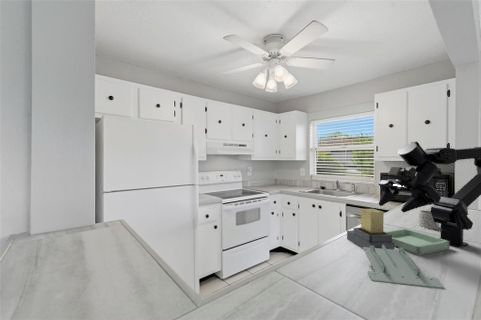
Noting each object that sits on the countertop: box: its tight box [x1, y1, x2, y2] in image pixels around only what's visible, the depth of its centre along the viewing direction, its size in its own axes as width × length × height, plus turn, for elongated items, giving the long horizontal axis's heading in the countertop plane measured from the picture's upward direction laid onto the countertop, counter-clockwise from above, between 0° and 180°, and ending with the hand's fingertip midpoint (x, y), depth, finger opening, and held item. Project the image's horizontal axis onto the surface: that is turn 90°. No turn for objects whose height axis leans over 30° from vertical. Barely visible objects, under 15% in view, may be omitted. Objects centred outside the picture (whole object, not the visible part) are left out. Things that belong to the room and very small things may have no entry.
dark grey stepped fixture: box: [346, 227, 395, 250], centre depth 72 cm, size 8×12×5 cm
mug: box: [418, 209, 440, 230], centre depth 94 cm, size 10×7×7 cm
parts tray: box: [384, 228, 451, 257], centre depth 73 cm, size 16×14×2 cm
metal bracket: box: [362, 245, 446, 291], centre depth 55 cm, size 14×6×15 cm
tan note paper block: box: [360, 208, 385, 235], centre depth 71 cm, size 4×4×9 cm
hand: (390, 208), depth 72 cm, fingers open, 9 cm apart
